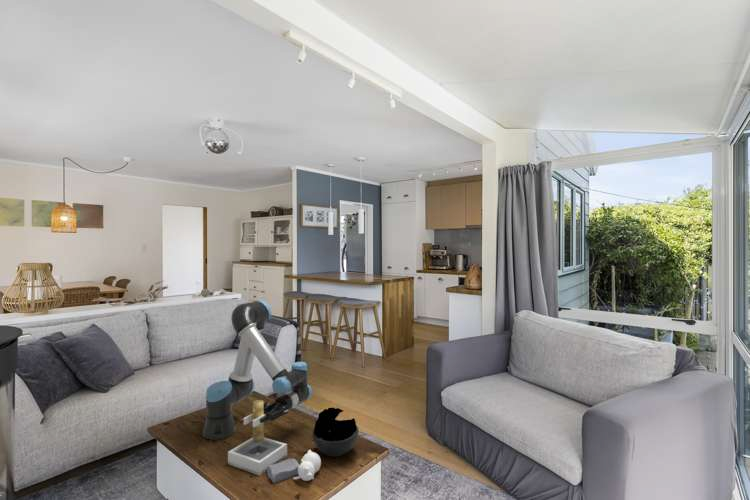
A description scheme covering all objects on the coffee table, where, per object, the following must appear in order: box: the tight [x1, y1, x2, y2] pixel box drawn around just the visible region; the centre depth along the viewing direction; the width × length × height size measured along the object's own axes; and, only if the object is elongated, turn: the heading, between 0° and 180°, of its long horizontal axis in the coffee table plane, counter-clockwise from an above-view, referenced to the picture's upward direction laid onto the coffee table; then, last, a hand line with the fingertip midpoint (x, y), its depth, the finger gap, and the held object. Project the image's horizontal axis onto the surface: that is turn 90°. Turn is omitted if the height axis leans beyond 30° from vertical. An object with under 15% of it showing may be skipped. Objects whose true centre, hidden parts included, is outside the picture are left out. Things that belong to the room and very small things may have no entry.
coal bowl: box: [312, 407, 360, 458], centre depth 161 cm, size 20×20×19 cm
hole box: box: [227, 436, 288, 476], centre depth 157 cm, size 18×16×5 cm
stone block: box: [266, 458, 300, 484], centre depth 147 cm, size 12×5×10 cm
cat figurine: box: [292, 449, 322, 482], centre depth 145 cm, size 9×11×12 cm
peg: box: [252, 399, 265, 442], centre depth 157 cm, size 4×4×16 cm
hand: (248, 422), depth 152 cm, fingers closed on peg, 4 cm apart
